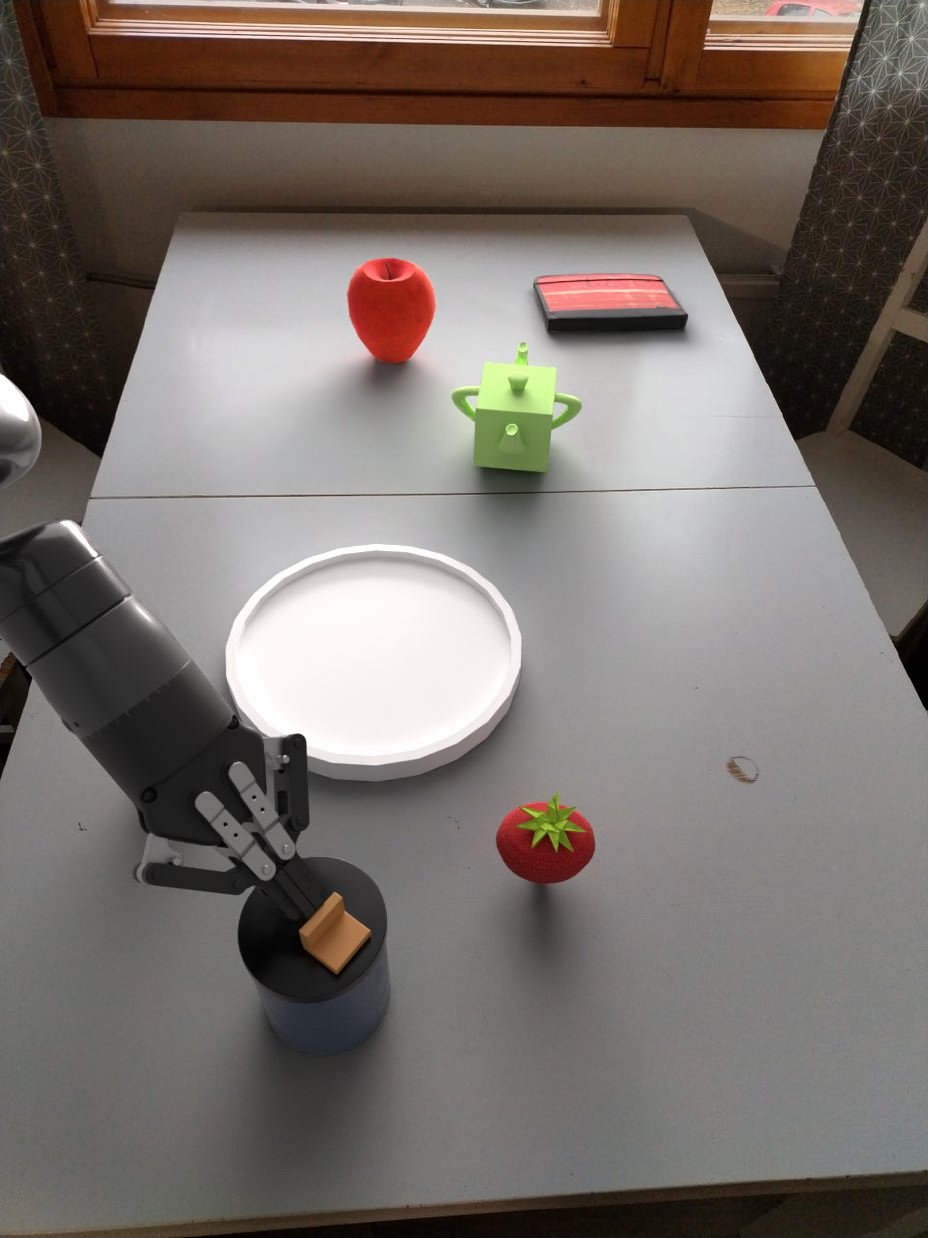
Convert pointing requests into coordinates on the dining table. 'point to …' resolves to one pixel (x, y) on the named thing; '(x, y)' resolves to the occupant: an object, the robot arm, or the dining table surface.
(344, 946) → the orange l-shaped block
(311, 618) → the plate
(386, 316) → the apple
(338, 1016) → the travel cup
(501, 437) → the teapot
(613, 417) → the dining table surface
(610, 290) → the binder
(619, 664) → the dining table surface
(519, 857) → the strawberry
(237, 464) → the dining table surface
